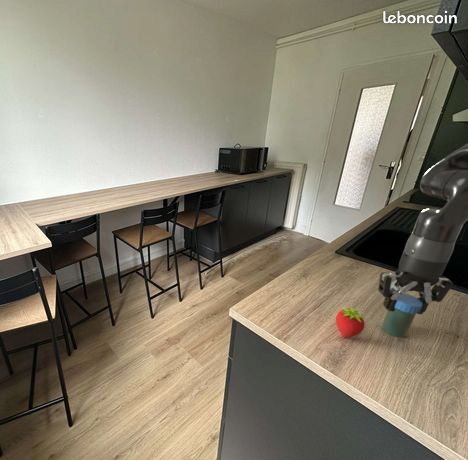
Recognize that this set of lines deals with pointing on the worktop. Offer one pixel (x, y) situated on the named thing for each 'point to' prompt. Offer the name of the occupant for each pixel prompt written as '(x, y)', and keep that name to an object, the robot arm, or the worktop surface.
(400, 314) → the jar
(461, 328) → the worktop surface
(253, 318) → the worktop surface
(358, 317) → the strawberry
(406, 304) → the jar lid
